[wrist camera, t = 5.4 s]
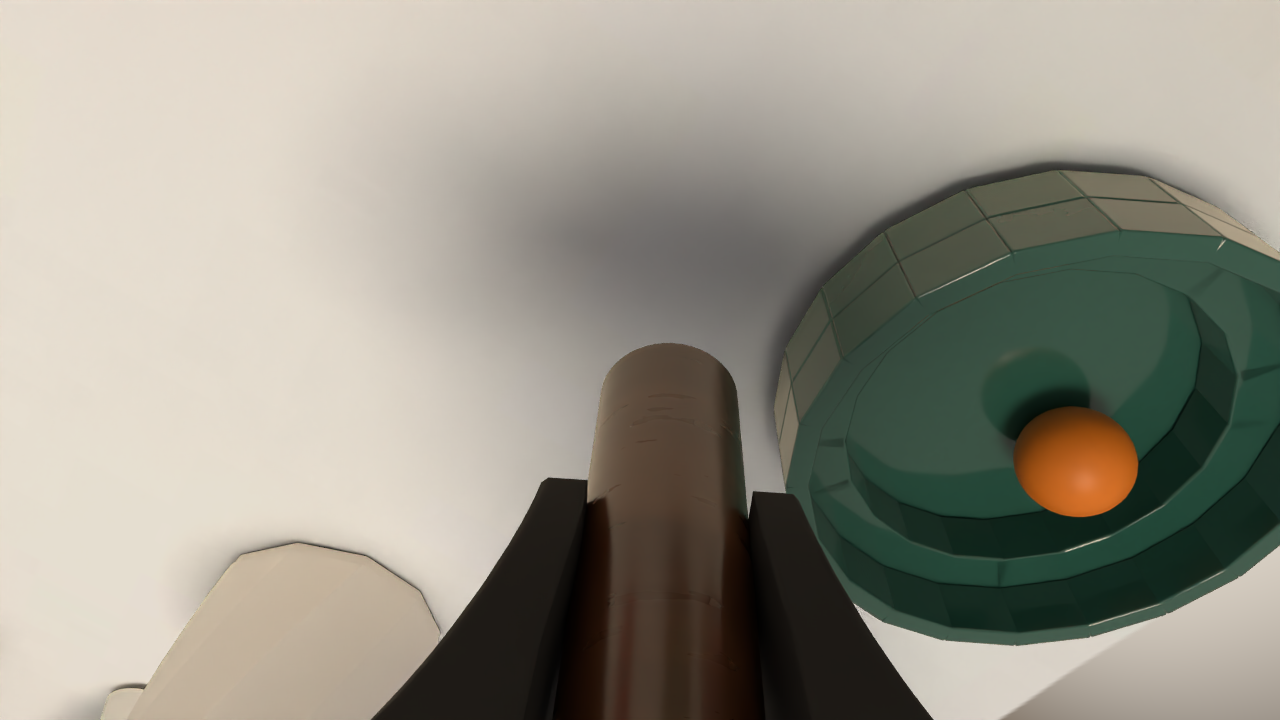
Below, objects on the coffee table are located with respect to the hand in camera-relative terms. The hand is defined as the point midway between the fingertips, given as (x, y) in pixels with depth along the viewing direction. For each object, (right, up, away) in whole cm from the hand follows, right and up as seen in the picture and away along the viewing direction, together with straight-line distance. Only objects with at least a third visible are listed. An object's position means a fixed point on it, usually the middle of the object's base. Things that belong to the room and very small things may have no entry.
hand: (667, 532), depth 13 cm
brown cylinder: (0, +2, +3) cm, 3 cm away
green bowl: (+10, +2, +11) cm, 15 cm away
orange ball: (+11, 0, +9) cm, 15 cm away
